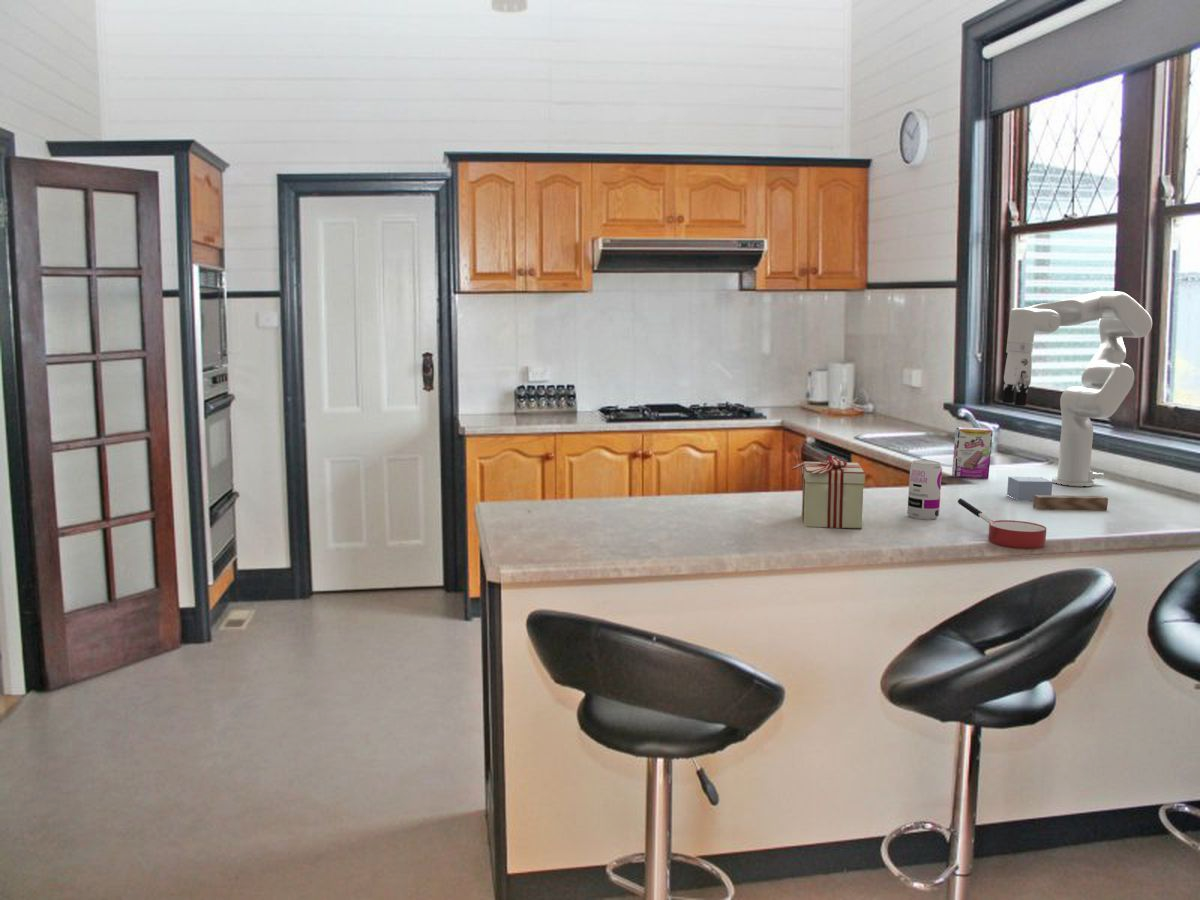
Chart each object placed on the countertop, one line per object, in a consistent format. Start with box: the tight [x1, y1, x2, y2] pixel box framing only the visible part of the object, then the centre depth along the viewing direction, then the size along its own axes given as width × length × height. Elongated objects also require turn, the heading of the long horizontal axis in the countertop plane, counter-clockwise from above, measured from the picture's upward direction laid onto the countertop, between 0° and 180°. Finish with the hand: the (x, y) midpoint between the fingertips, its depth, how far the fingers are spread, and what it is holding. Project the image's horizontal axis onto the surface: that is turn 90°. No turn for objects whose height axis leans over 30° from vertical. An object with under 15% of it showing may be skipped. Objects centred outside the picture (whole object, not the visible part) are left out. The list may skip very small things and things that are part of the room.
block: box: [1006, 476, 1053, 502], centre depth 327 cm, size 10×8×6 cm
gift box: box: [790, 454, 866, 529], centre depth 283 cm, size 17×18×17 cm
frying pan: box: [957, 498, 1047, 550], centre depth 274 cm, size 32×13×6 cm, turn 19°
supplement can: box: [906, 459, 943, 521], centre depth 294 cm, size 8×8×15 cm
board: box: [1032, 494, 1109, 511], centre depth 312 cm, size 20×4×4 cm, turn 93°
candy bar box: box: [951, 426, 994, 480], centre depth 362 cm, size 11×5×16 cm, turn 84°
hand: (1013, 404), depth 339 cm, fingers open, 9 cm apart
